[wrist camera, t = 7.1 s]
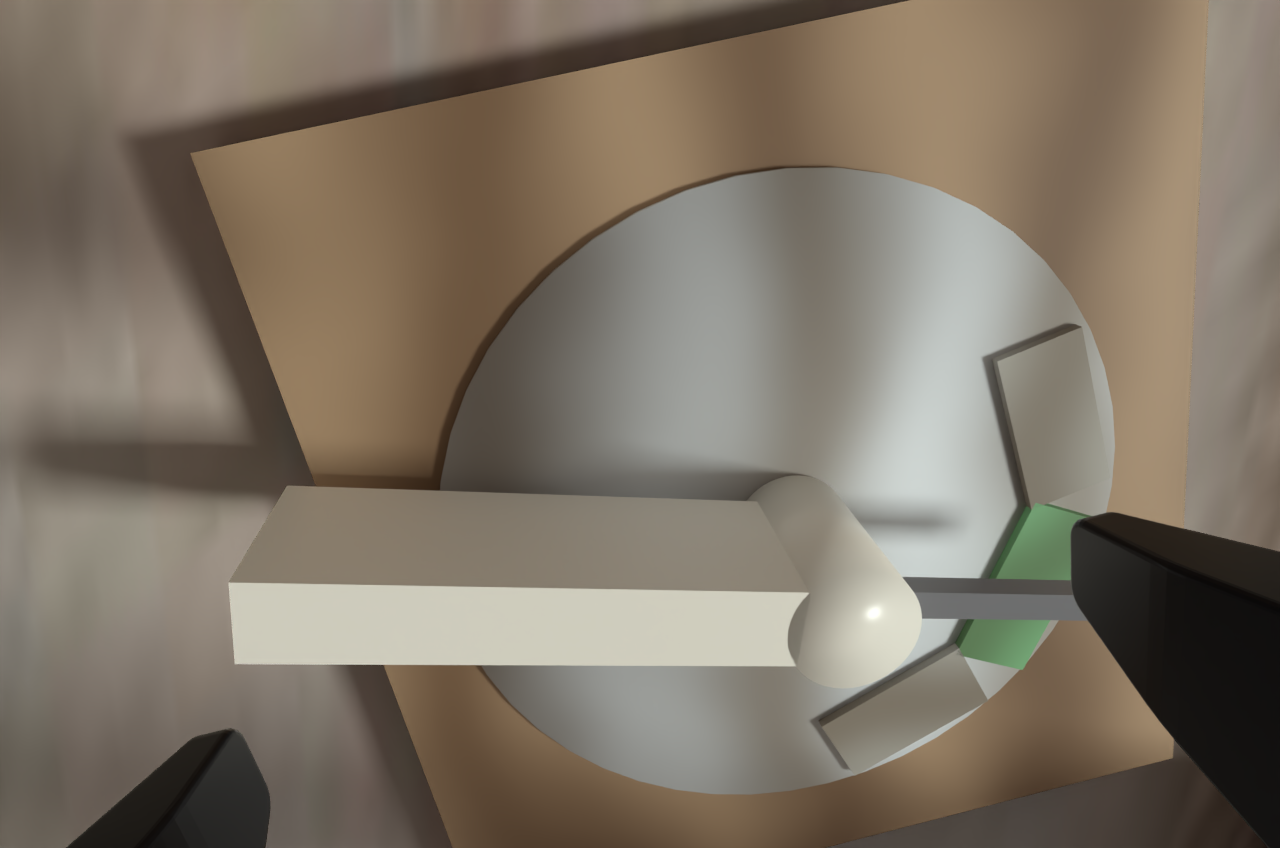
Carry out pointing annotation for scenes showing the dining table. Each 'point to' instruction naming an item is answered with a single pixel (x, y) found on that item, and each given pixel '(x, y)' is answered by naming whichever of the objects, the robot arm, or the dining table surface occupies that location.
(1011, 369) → the tuner board
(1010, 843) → the dining table surface
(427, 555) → the dial pointer lever
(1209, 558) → the robot arm
